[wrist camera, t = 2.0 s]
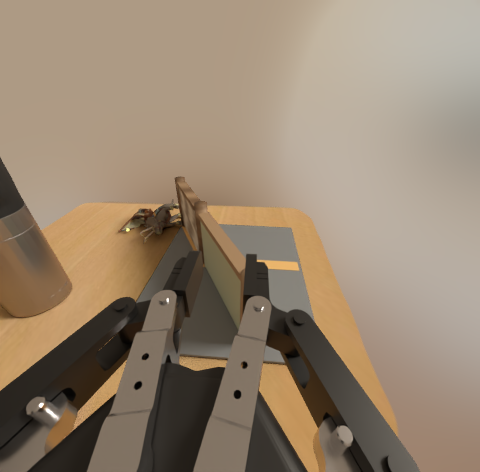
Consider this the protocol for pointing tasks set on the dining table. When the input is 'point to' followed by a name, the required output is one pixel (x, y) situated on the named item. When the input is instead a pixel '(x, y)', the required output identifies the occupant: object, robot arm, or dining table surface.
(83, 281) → the dining table surface
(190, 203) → the post
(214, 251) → the fence gate
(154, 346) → the robot arm
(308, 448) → the dining table surface
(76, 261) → the dining table surface
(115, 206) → the dining table surface
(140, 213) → the figurine
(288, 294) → the card
